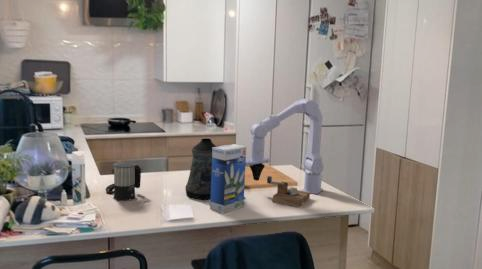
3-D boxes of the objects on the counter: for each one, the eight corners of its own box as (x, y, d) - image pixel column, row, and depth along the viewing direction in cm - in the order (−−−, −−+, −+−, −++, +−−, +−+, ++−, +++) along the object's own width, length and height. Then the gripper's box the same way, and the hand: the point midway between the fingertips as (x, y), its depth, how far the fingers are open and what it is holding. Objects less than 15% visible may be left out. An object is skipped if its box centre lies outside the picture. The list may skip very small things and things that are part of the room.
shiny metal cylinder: (289, 198, 215) (290, 187, 214) (297, 200, 214) (298, 188, 213) (287, 201, 212) (287, 189, 211) (295, 202, 211) (295, 190, 210)
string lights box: (222, 213, 192) (225, 150, 188) (208, 209, 197) (211, 147, 192) (244, 206, 202) (247, 146, 197) (230, 202, 207) (233, 143, 202)
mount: (284, 194, 222) (285, 179, 221) (309, 198, 217) (310, 183, 216) (272, 202, 210) (273, 186, 208) (298, 207, 205) (300, 190, 203)
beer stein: (191, 202, 205) (192, 144, 201) (179, 189, 223) (180, 135, 218) (227, 199, 211) (230, 142, 207) (213, 186, 229) (215, 134, 225)
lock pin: (268, 182, 218) (268, 175, 218) (284, 185, 215) (285, 178, 214) (266, 183, 217) (266, 176, 216) (283, 186, 213) (283, 179, 213)
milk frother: (129, 202, 201) (129, 167, 199) (94, 198, 204) (94, 164, 202) (143, 192, 215) (143, 160, 212) (110, 189, 218) (110, 157, 216)
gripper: (253, 154, 209) (252, 184, 212) (274, 150, 220) (273, 179, 222) (241, 151, 214) (240, 181, 217) (263, 147, 225) (261, 176, 227)
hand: (256, 179), depth 220 cm, fingers closed
